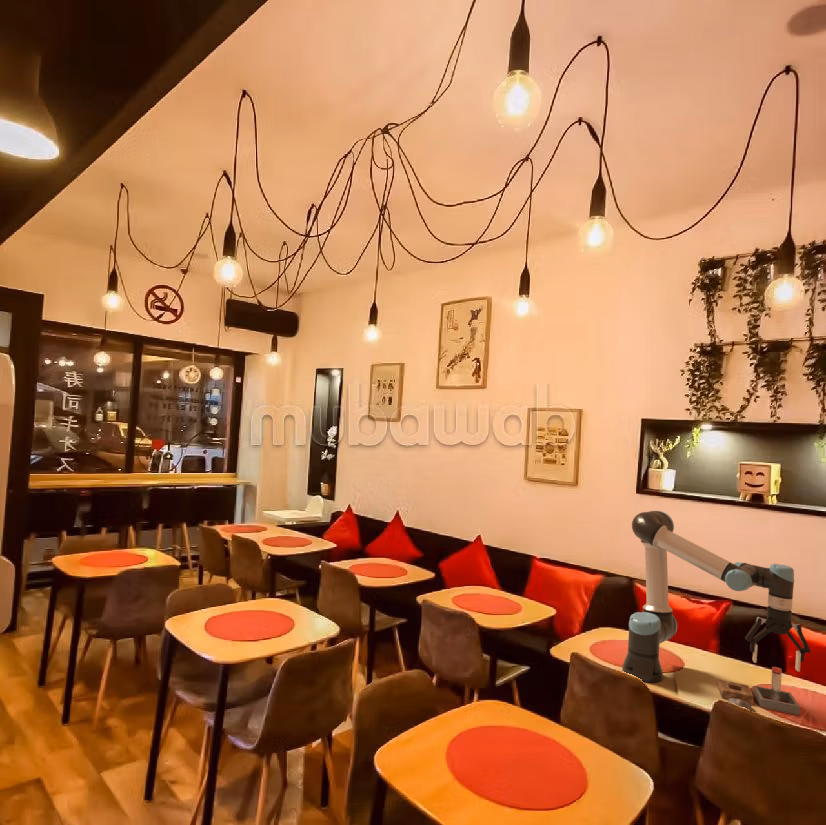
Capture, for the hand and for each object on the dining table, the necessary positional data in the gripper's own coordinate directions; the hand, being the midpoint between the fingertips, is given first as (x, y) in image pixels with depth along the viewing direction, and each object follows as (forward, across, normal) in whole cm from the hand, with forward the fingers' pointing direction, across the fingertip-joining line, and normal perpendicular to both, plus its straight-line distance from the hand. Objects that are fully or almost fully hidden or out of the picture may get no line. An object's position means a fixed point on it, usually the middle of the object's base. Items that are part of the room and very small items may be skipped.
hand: (775, 665), depth 206 cm
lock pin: (+14, +1, 0) cm, 14 cm away
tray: (+15, +1, 0) cm, 15 cm away
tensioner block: (+15, -12, -4) cm, 20 cm away
